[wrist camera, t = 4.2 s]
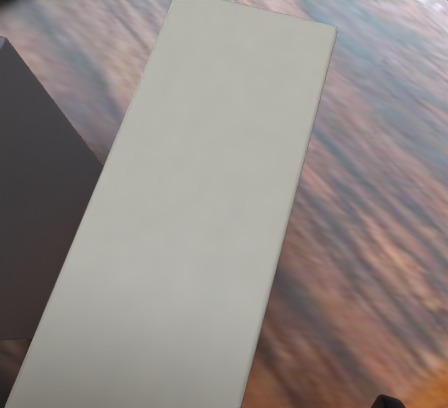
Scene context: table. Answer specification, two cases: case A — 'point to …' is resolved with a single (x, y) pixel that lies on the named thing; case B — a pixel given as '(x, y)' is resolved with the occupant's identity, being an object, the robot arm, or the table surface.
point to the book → (185, 218)
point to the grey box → (36, 194)
